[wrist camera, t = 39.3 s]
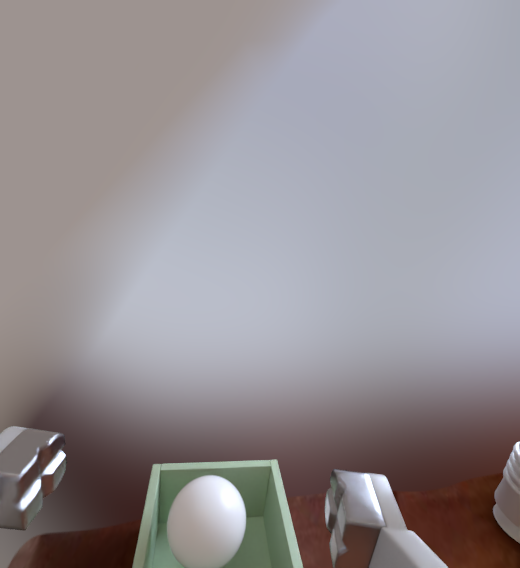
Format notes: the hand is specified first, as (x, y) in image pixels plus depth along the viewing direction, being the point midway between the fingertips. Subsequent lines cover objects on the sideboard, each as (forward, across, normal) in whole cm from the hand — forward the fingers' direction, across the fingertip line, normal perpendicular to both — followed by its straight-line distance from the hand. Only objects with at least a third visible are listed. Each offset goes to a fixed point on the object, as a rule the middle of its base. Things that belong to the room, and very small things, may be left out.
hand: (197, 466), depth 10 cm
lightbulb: (+12, +1, +26) cm, 29 cm away
